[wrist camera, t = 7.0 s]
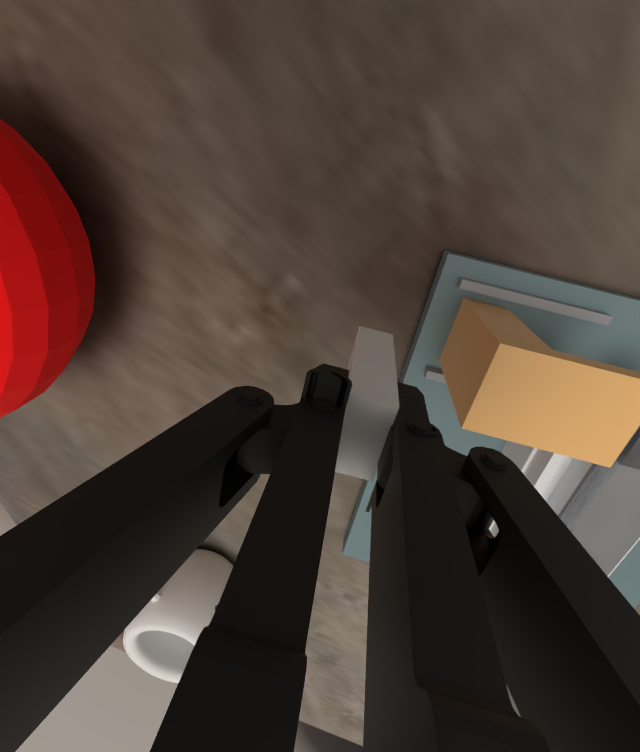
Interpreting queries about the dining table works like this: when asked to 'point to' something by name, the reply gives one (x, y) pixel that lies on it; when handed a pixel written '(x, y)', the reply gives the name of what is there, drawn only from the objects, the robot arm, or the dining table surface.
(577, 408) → the orange block
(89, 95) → the dining table surface
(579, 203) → the dining table surface
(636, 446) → the grey long bar
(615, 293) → the teal base with bracket
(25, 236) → the vase
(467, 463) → the robot arm
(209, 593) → the mug
